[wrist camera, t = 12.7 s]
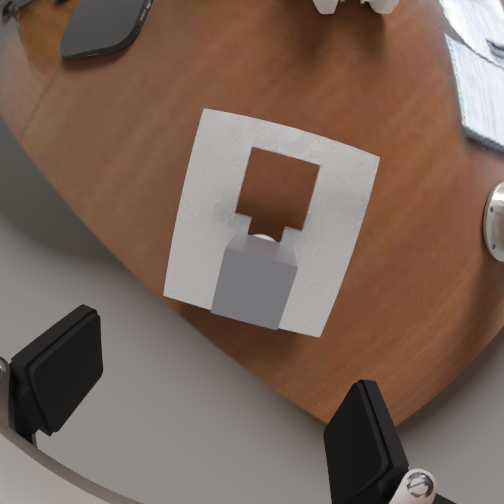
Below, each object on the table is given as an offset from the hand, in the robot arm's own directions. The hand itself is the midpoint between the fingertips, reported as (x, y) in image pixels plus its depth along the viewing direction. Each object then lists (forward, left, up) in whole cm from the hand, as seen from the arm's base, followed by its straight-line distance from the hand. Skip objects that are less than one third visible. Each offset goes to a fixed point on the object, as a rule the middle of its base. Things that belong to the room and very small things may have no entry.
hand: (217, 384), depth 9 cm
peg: (-1, +1, -20) cm, 20 cm away
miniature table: (0, -3, -24) cm, 25 cm away
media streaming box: (+31, -28, -25) cm, 48 cm away
